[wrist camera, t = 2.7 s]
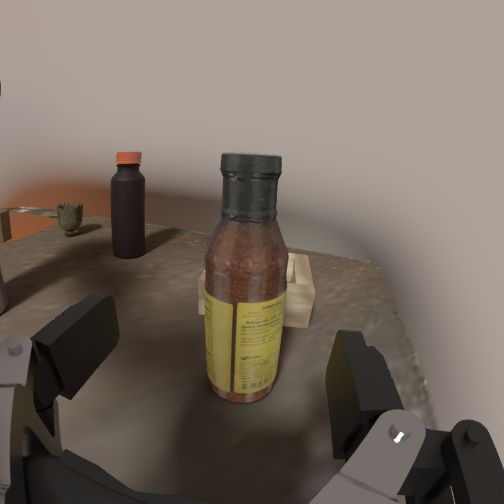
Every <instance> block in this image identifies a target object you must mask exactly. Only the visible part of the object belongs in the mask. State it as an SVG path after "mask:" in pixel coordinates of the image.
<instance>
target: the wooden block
mask: <svg viewBox="0 0 504 504" xmlns="http://www.w3.org/2000/svg"><path fill="white" fill-rule="evenodd" d="M9 239H11V228H10V219H9V210H0V242H5V241H7V240H9Z"/></svg>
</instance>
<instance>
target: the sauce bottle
mask: <svg viewBox="0 0 504 504" xmlns="http://www.w3.org/2000/svg"><path fill="white" fill-rule="evenodd" d="M281 161H282V158H281V156H279V155H274V154H273V155H272V154H260V153H246V152H230V153H229V152H227V153H223V154H222V156H221V168H220V170H221V173H222V176H223V195H222V207H221V220H220V222H219V224H218V225H217V227H216V228H215V230H214V232H213V233H212V235H211V237H210V238H209V241H208V243H207V247H206V251H205V259H204V261H205V283H204V308H205V335H206V359H207V373H208V376H209V378H210V383H211V387H212V389H213V391H214V392H215V393H216V394H218V395H219V396H220V397H222V398H224V399H226V400H228V401H231V402H234V403H243V404H245V403H250V402H256V401H258V400H261V399H263V398H264V397H266V396H267V394H268V393H269V392H270V391H271V389H272V387H273V385H274V380H275V377H276V374H277V367H278V360H279V353H280V344H281V336H282V328H283V320H284V312H285V303H286V294H287V275H286V273H287V266H288V259H289V254H288V250H287V248H286V246H285V243H284V241H283V238H282V235H281V232H280V229H279V226H278V223H277V220H276V215H277V210H276V202H277V185H278V179H279V177H280V175H281V173H282V171H281V167H282V163H281Z"/></svg>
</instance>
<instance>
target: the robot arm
mask: <svg viewBox="0 0 504 504" xmlns="http://www.w3.org/2000/svg"><path fill="white" fill-rule="evenodd" d="M0 93H1V84H0ZM8 303H9V300H8V296H7V292H6V288H5V284H4V280H3V275H2V271H1V266H0V314H1V313H2V312H3V311H4V310H5V309H6V307H7V306H8ZM118 340H119V327H118V321H117V315H116V309H115V302H114V299H113V298H112V296H109V295H105V294H100V293H96V292H93V293H91V294H90V295H89V296H87V297H86V298H85V299H83V300H82V301H81V302H79V303H77V304H75V305H73V306H70V307H69V308H68V309H66V310H65V311H64V312H62V314H61V315H59V316H57V317H56V318H55V320H52V321H51V322H50V323H48V324H47V325H46V326H45V327H43V328H42V329H41V330H40V331H39V332H37V333H36V334H35V335H34V336H32V337H31V338H28V337H26V336H23V335H16V336H12V337H9V338H7V339H5V340H4V341H3V342H2V343H1V344H0V504H216V503H211V502H206V501H201V500H197V499H193V498H189V497H185V496H173V495H161V494H152V493H144V492H137V491H134V490H132V489H130V488H128V487H127V486H125V485H124V484H123V483H121V482H120V481H118V480H117V479H115V478H114V477H113V476H111V475H110V474H109V473H107V472H106V471H105V470H103V469H102V468H101V467H99V466H98V465H96V464H94V463H92V462H90V461H88V460H86V459H84V458H82V457H80V456H78V455H76V454H74V453H73V452H71V451H69V450H67V449H65V450H64V451H63V449H62V445H61V439H60V427H59V410H58V402H57V400H56V397H57V396H58V395H61V396H63V397H65V398H67V399H69V400H72V398H73V397H74V396H75V395H76V393H77V392H78V391H79V390H80V388H81V387H82V386H83V385H84V384H85V382H86V381H87V380H88V379H89V378H90V376H91V375H92V374H93V373H94V372H95V370H96V369H97V368H98V367H99V366H100V364H101V363H102V362H103V361H104V360H105V358H106V357H107V356H108V355H109V354H110V353H111V351H112V350H113V349H114V348H115V347H116V345H117V343H118ZM387 367H388V366H387V364H386V361H385V359H384V357H383V355H382V354H381V353H380V352H379V351H378V350H377V349H376V348H375V347H374V346H367V345H366V343H365V340H364V338H363V335H362V333H361V332H360V331H348V330H339V331H338V332H337V334H336V338H335V341H334V345H333V348H332V352H331V355H330V359H329V362H328V365H327V370H326V389H327V397H328V406H329V415H330V424H331V435H332V445H333V457H334V459H345V460H346V464H345V465H344V466H343V468H342V469H341V470H340V471H339V472H337V473H336V475H335V476H334V477H333V478H332V479H331V480H330V481H329V482H328V484H327V485H326V486H325V487H324V488H323V489H322V490H321V491H320V492H319V493H318V494H317V496H316V497H315V498H314V499H313V500H312V501H311V502H310V503H309V504H397V503H398V501H397V500H395V497H396V495H405V499H406V504H454V500H455V504H504V469H503V466H502V463H501V461H500V458H499V455H498V453H497V450H496V448H495V446H494V443H493V441H492V439H491V436H490V434H489V432H488V430H487V429H486V428H485V427H484V426H483V425H482V424H481V423H479V422H477V421H474V420H462V421H460V422H458V423H457V424H456V425H455V426H454V428H453V429H452V430H451V432H445V431H438V430H430V429H425V426H424V424H423V422H422V421H421V420H420V419H419V418H418V417H417V416H416V415H414V414H413V413H411V412H408V411H405V410H404V408H403V405H402V402H401V400H400V397H399V394H398V392H397V389H396V386H395V384H394V381H393V379H392V378H391V374H390V371H389V369H387ZM451 486H452V491H453V495H454V500H453V496H452V491H451Z"/></svg>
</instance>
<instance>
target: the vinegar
mask: <svg viewBox="0 0 504 504" xmlns="http://www.w3.org/2000/svg"><path fill="white" fill-rule="evenodd" d="M116 159H117V160H116V164H118V165H116V166H118V171H117V173H116V174H115V175H114V176H113V177H112V179H111V225H112V243H113V254H114V255H115V256H116V257H119V258H136V257H139V256H141V255H143V254H144V253H145V219H144V217H145V215H144V213H145V211H144V210H145V208H144V207H145V203H144V202H145V200H144V199H145V178H144V176H143V175H142V174H141V173H140V171H139V166H140V164H139V163H141V152H118V153H117V154H116Z"/></svg>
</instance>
